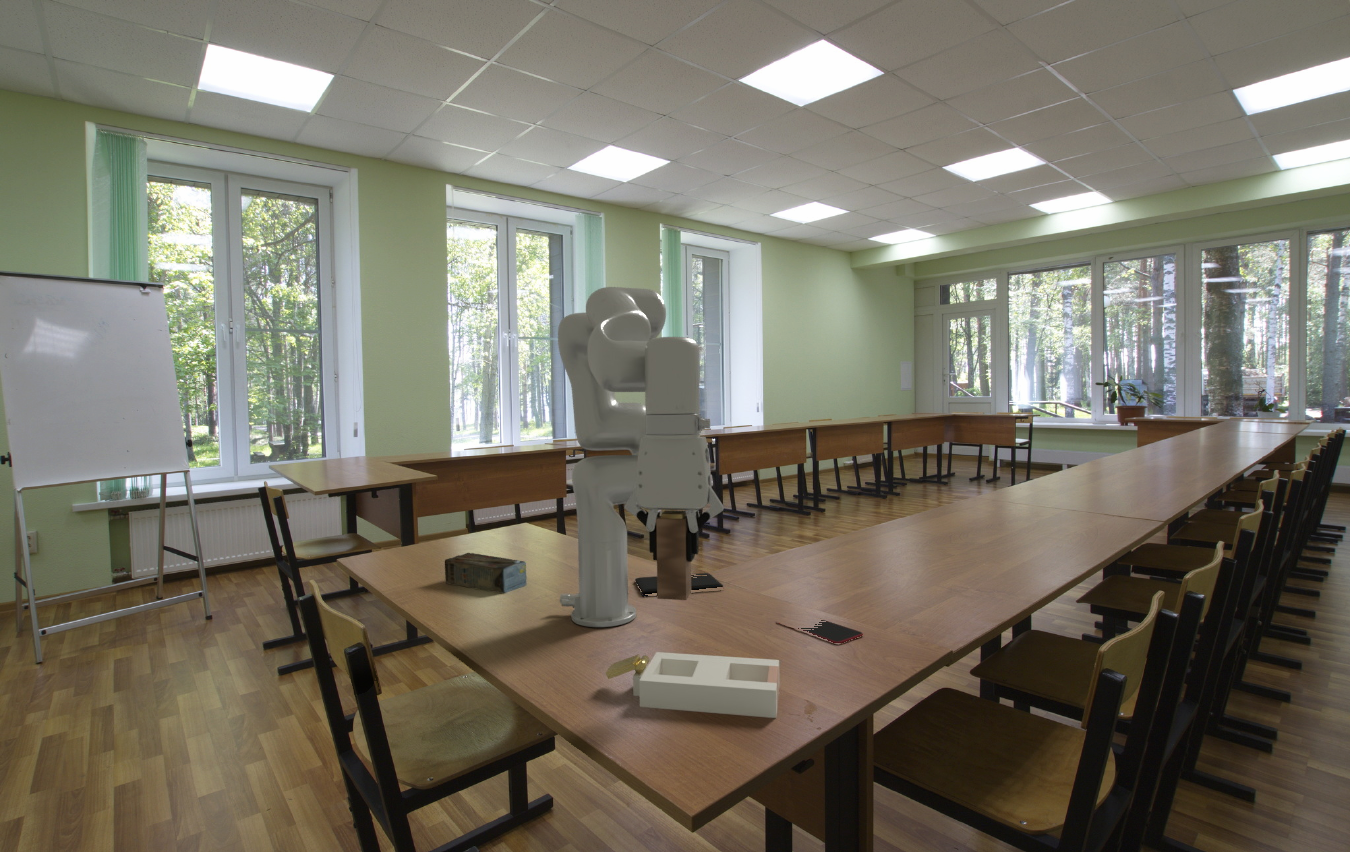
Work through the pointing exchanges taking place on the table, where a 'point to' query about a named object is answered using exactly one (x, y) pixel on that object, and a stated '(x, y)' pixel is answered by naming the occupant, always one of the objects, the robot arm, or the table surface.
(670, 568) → the plug
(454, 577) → the beverage carton
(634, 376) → the robot arm
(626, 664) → the latch tab
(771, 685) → the white socket holder
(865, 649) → the table surface
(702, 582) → the laptop
